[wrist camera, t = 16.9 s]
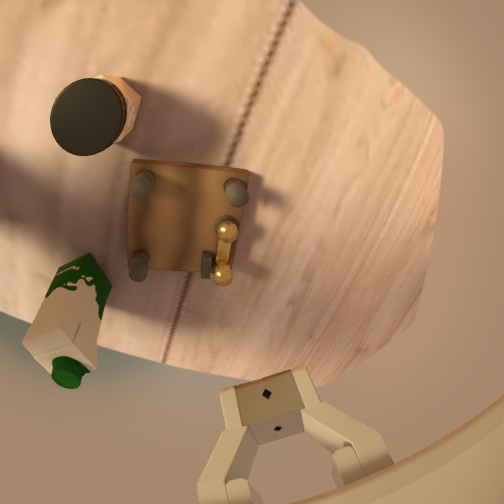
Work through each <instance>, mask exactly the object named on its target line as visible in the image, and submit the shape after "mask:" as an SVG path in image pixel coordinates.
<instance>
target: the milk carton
mask: <svg viewBox="0 0 504 504" xmlns="http://www.w3.org/2000/svg"><path fill="white" fill-rule="evenodd" d="M111 287H112V286H111V284H110V283H109V281H108V280H107V278H106V277H105V275H104V274H103V272H102V271H101V269H100V268H99V266H98V264H97V263H96V261H95V260H94V258H93V257H92V255H91V253H88V254H86V255H84V256H82V257H80V258H78V259H76V260H74V261H72V262H70V263H68V264H65V265H63V266H61V267H59V269H58V271H57V273H56V275H55V277H54V279H53V281H52V283H51V285H50V287H49V289H48V292H47V294H46V296H45V298H44V300H43V302H42V304H41V307H40V309H39V311H38V313H37V315H36V317H35V319H34V321H33V323H32V325H31V327H30V328H29V330H28V332H27V334H26V336H25V338H24V340H23V341H22V344H23V345H24V347H25V348H26V349H27V350H28V351H29V352H30V353H31V354H32V355H33V357H34V359H36V361H37V362H39V363H40V364H41V365H42V366H43V367H44V368H45V369H46V370H47V371H48V372H49V373H50V374H51V376H52V379H53V380H54V381H55V382H56V383H57V384H58V385H60V386H62V387H64V388H68V389H75V388H78V387H79V386H80V382H81V378H82V376H83V375H84V374H85V373H90V372H91V371H93V370H97V339H98V334H99V329H100V324H101V320H102V316H103V311H104V307H105V303H106V301H107V298H108V295H109V292H110V289H111Z"/></svg>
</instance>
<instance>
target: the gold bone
mask: <svg viewBox="0 0 504 504" xmlns="http://www.w3.org/2000/svg"><path fill="white" fill-rule="evenodd" d="M216 229H217V233H218V241H217V247H216V254H215V258H214V259H213V260H212V263H211V265H212V271H213V276H214V281H215V283H216V284H217V285H219V286H227V285H229V284H230V283H231V282H232V279H233V277H232V273H231V269H230V266H229V262H228V258H229V253H230V247H231V242H233V241H235V240H236V239H237V237H238V229H237V227H236V224H235V222H234V221H233V220H231V219H228V218H225V219H222V220H220V221H219V222H218V224H217V226H216Z"/></svg>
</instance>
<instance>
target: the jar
mask: <svg viewBox="0 0 504 504" xmlns="http://www.w3.org/2000/svg"><path fill="white" fill-rule="evenodd" d="M141 99H142V98H141V96H140V95H139V94H138V93H137V92H136V91H135V90H133V89H132V88H131V87H130V86H129V85H128V84H127V83H126V82H125V81H124V80H123V79H122V78H121V77H119V76H111V75H100V76H97V77H95V78H85V79H80V80H77V81H75V82H73V83H71V84H70V85H68V86H67V87H66V88H64V89H63V90H62V91H61V93H60V94H59V95H58V97H57V98H56V100H55V102H54V104H53V107H52V110H51V115H50V125H51V131H52V134H53V136H54V138H55V140H56V142H57V143H58V144H59V145H60V146H61V147H62V148H63V149H64V150H65V151H67V152H69V153H71V154H74V155H77V156H90V155H94V154H97V153H99V152H101V151H104V150H105V149H106V148H108V147H110V146H111V145H112V144H113V143H116V142H119V141H121V140H122V139H123V138H124V137H125V136H126V135H127V134H128V133H129V132H130V131H131V130H132V129H133V127H134V123H135V120H136V116H137V112H138V109H139V105H140V102H141Z"/></svg>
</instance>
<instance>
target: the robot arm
mask: <svg viewBox="0 0 504 504" xmlns="http://www.w3.org/2000/svg"><path fill="white" fill-rule="evenodd" d="M220 398H221V403H222V409H223V414H224V419H225V424H226V430H225V431H222V434H221V435H220V438H219V440H218V442H217V444H216V446H215V448H214V451H213V453H212V455H211V457H210V459H209V461H208V463H207V465H206V467H205V469H204V471H203V473H202V475H201V477H200V480H199V481H198V484H197V489H198V497H199V503H200V504H263V501H262V498H261V495H260V494H259V493H258V492H257V491H256V490H255V489H254V488H253V487H252V485H251V484H250V483H249V482H248V481H247V479H248V477H249V474H250V471H251V468H252V465H253V462H254V459H255V456H256V453H257V450H258V447H259V446H258V445H261V444H264V443H267V442H271V441H274V440H278V439H281V438H284V437H288V436H292V435H295V434H298V433H302V432H305V433H306V434H307V435H309V436H310V437H311V438H312V439H314V440H315V441H316V442H318V443H319V444H320V445H322V446H324V448H326V449H327V450H329V451H330V452H331V453H333V454H334V455H333V466H332V476H333V479H334V481H335V484H336V487H337V488H336V489H333V490H331V491H328V492H325V493H322V494H319V495H316V496H313V497H310V498H307V499H303V500H299V501H296V502H292V503H289V504H504V395H503V396H502V397H500V398H499V399H498V400H497V401H495V402H494V403H493V404H491V405H490V406H489V407H487V408H486V409H485V410H483V411H482V412H481V413H479V414H478V415H477V416H475V417H474V418H472V419H471V420H469V421H468V422H466V423H465V424H463V425H462V426H460V427H459V428H457V429H456V430H454V431H452V432H451V433H449V434H448V435H446V436H444V437H443V438H441V439H440V440H438V441H436V442H434V443H433V444H431V445H430V446H427V447H426V448H424V449H422V450H420V451H418V452H417V453H415V454H413V455H411V456H409V457H407V458H405V459H403V460H401V461H399V462H397V463H395V464H394V462H393V460H392V458H391V456H390V454H389V452H388V450H387V448H386V446H385V444H384V442H383V440H382V438H381V436H380V434H379V432H377V431H375V430H374V429H372V428H370V427H368V426H366V425H365V424H363V423H361V422H359V421H358V420H356V419H354V418H353V417H351V416H349V415H347V414H346V413H344V412H342V411H340V410H339V409H337V408H336V407H334V406H332V405H331V404H329V403H327V402H326V401H325V402H322V403H321V401H320V398H319V396H318V394H317V391H316V389H315V387H314V384H313V382H312V380H311V378H310V375H309V373H308V371H307V368H306V367H305V366H304V365H302V366H299V367H296V368H293V369H289V370H286V371H283V372H280V373H277V374H274V375H270V376H267V377H264V378H262V379H258V380H255V381H251V382H247V383H243V384H239V385H235V386H231V387H228V388H223V389H220Z"/></svg>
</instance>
